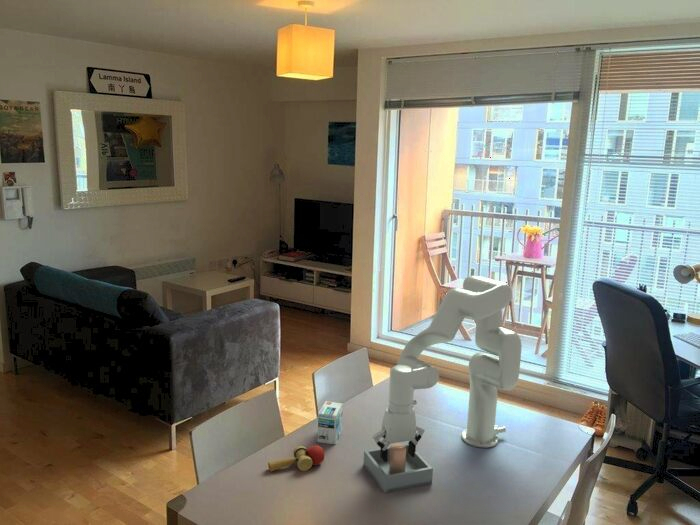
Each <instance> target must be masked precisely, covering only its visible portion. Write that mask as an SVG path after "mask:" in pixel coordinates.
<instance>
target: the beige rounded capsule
mask: <svg viewBox="0 0 700 525" xmlns="http://www.w3.org/2000/svg"><path fill="white" fill-rule="evenodd" d="M403 444H404V443H401V442H398V443H391V444H390V445H389V447H390V467H389V471H390V473H391V474H396V473H401V472H405V468H406V446H405V445H403Z"/></svg>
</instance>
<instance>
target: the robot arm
mask: <svg viewBox="0 0 700 525" xmlns="http://www.w3.org/2000/svg"><path fill="white" fill-rule="evenodd" d="M510 286H511V285H509V284H507V283H506V282H503V281H500V280H496V279H491V278H488V277H485V276H480V275H468V276H466V277H465V278H464V280H463V283H462V288H460V287H459V288H458V287H454V288H450V289H449V290H447V292H446V293H445V295H444V297H443V299H442V301H441V302H440V305H439V307H438V308H437V311H436V313H435V315H434V317H433V318H432V321H431V323H430V324H429V325H428V327H427V328H426V329H424V330H422V331H420V332H419V333H417V334H416V335H415V336H413V337H412V338H411V339H410V340H409V341H408V342H407V343H406V344H405V346H404V348H403V350H402V352H401V353H400V355H399V358H398V360H397V363H396V365H394V366H392V367H391V369H390V372H389V385H388V386H389V387H388V402H387V404H388V405H387V406H388V407H386V408H385V409H384V410H385V411H384V413H383V416H382V417H383V418H382V421H381V422H382V424H381V429H380V430H379V431H378V432H376V433H375V434H374V435H373V436H372V438H373V440H374V442H375V444H376V445H377V446H378V447H379V448H381V450H380V457H381V458H382V459H383V460H384V462H387V458H388V450H387V447H390V446H391V445H392V444H395V443H403V442H408V443H409V444H408V453H409V454H410V455H411V456H412V457H415V452H416V451H417V449H416V448H417V445H418V443H419V441H420V440H421V439H422V436H423V434H424V432H425V429H424V428H423V427H421V426H419V425H417V419H416V412H415V408H414V405H417V403H418V402H417V400H416V399H414V395H415V394H414V392H415V390H427V389H430V388H433V387H434V386H436V385H437V383H438V382H439V380H440V373H439V371H438V369H437V368H436V367H435V366H434V365H432V364H430V363H427V362H425V361H423V360H421V359H419V358H420V355H421V354H422V352H424V351H425V350H426V349H427V348H430V347H431V346H433V345H438V344H441V343H442V344H443V343H448V342H452V341H453V340H454V339H455V337H456V335H457V334H458V331H459V329H460V327H461V325H462V323H463V321H464V319H465V318H467V319H470V320H472V321H475V338H474V340H475V341H474V342H475V345H476V347H477V348H478V349H480V350H481V351H482V352H476V353H474V354H473V355H472V356H471V357H470V359H469V362H468V374H469V397H468V408H467V420H466V421H467V423H466V429H464V430H463V431H462V432H461V439H462V440H463V441H464V443H466V444H468V445H470V446H472V447H476V448H477V447H478V448H492V447H495V446H496V445H497V444H498V443H499V437H498V435H499V434H502V433H506V432H507V431H506V430H507V429H506V427H505V426H500V427H499V425H497V424H496V418H497V417H496V416H497V403H498V389H499V390H503V391H510V390H513V389H514V388H515V387H516V385H517V383H518V381H519V377H520V369H521V367H520V366H521V359H522V358H521V357H522V340H521V338H520V336H519V334H518V333H517V332H515V331H513V330H511V329H508V328H505V327H504V326H503V309H504V308H506V307H507V306H508V305H509V304H510V302H511V300H512V297H513V291H512V288H511V287H510ZM483 351H484V352H483ZM497 388H498V389H497ZM381 438H382V440H380V439H381Z"/></svg>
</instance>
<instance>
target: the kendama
mask: <svg viewBox="0 0 700 525" xmlns="http://www.w3.org/2000/svg"><path fill="white" fill-rule="evenodd" d="M324 459H325V450H324V449H323V448H322V447H321V446H319V445H311V446H309V447H308V448H306V447H305V446H302V445H301V446H300V445H299V446H297V447H295V448H294V450H293V457H288V458H283V459H278V460H273V461H268V462H267V467H268V469H270V470H269V472H270V473H272V472H274V471H276V470H279V469H282V468H286V467H287V466H291V465H293V464H295V463H296V466H297V468H298V470H300V471H302V472H304V471H303V470H306V471H308V469H309V470H310V469H311V468H312V466H313V465H314V466H318V465H320V464H322V463H323V462H324Z"/></svg>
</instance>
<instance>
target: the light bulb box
mask: <svg viewBox="0 0 700 525" xmlns="http://www.w3.org/2000/svg"><path fill="white" fill-rule="evenodd" d="M343 407H344V403H339V402H332V401H327V400H326V401H324V403H323V405H321V408H320V409H319V411H318V414H317V417H318V418H317V442H318V443H322V444H329V445H336V444H337V443H338V441H339V438H340V436H341V434H342V432H343V413H344V412H343V409H344V408H343Z"/></svg>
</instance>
